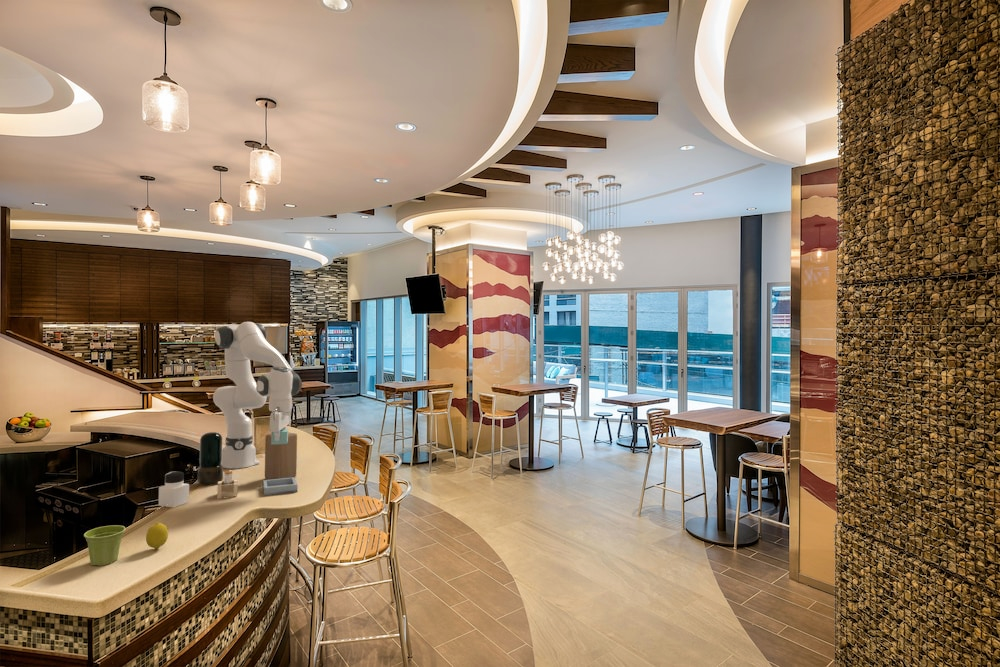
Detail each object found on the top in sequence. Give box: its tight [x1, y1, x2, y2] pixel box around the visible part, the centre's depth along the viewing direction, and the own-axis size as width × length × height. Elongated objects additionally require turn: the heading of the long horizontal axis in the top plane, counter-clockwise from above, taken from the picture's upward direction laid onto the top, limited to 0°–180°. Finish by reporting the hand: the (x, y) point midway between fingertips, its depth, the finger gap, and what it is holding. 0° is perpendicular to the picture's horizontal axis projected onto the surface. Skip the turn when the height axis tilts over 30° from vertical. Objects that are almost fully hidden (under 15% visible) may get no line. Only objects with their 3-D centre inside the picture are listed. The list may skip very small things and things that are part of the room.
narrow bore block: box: [270, 428, 289, 445], centre depth 217 cm, size 6×6×5 cm
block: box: [264, 431, 298, 480], centre depth 235 cm, size 10×10×20 cm
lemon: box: [145, 522, 169, 550], centre depth 156 cm, size 6×6×8 cm
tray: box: [262, 476, 298, 496], centre depth 217 cm, size 12×12×3 cm
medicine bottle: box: [158, 470, 190, 508], centre depth 197 cm, size 7×7×12 cm
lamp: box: [197, 431, 224, 486], centre depth 225 cm, size 10×10×22 cm
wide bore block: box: [216, 479, 238, 499], centre depth 209 cm, size 7×7×5 cm
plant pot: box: [83, 524, 127, 566], centre depth 147 cm, size 9×9×9 cm
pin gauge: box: [223, 469, 233, 485], centre depth 209 cm, size 3×3×10 cm
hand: (279, 438), depth 217 cm, fingers closed on narrow bore block, 6 cm apart
